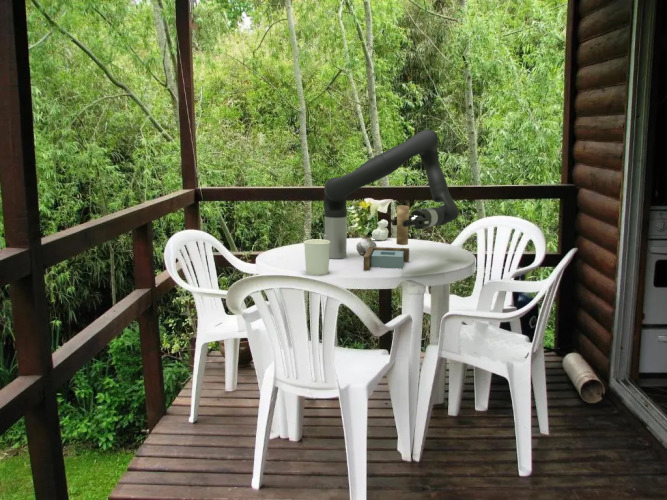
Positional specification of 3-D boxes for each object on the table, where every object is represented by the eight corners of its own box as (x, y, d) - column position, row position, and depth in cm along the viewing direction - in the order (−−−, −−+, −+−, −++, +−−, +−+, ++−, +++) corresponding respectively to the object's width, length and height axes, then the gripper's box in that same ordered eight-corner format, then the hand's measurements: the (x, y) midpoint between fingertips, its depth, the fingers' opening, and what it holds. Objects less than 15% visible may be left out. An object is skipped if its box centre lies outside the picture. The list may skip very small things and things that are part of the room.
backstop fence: (363, 270, 252) (363, 256, 251) (369, 259, 271) (369, 246, 270) (406, 272, 249) (406, 257, 248) (408, 261, 269) (409, 248, 268)
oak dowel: (396, 244, 240) (396, 206, 237) (396, 242, 244) (397, 205, 241) (407, 245, 239) (408, 207, 236) (408, 243, 243) (409, 205, 241)
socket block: (371, 268, 257) (371, 255, 256) (374, 262, 269) (374, 250, 268) (402, 269, 255) (402, 256, 254) (403, 263, 267) (403, 251, 266)
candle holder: (302, 270, 251) (301, 239, 249) (327, 269, 253) (327, 238, 251) (306, 276, 242) (306, 244, 239) (332, 275, 244) (333, 243, 242)
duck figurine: (373, 246, 314) (385, 229, 308) (363, 235, 317) (375, 218, 311) (387, 243, 323) (399, 226, 317) (377, 232, 326) (389, 215, 320)
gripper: (408, 206, 255) (382, 211, 242) (440, 210, 246) (415, 214, 233) (407, 226, 256) (382, 231, 243) (439, 230, 247) (414, 235, 234)
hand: (398, 223), depth 238 cm, fingers closed on oak dowel, 4 cm apart
